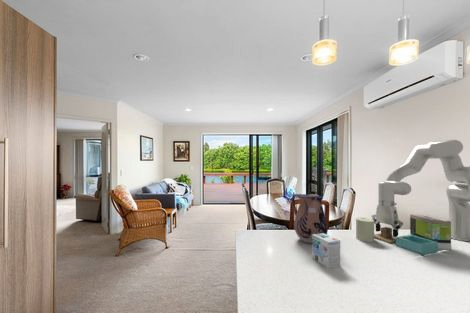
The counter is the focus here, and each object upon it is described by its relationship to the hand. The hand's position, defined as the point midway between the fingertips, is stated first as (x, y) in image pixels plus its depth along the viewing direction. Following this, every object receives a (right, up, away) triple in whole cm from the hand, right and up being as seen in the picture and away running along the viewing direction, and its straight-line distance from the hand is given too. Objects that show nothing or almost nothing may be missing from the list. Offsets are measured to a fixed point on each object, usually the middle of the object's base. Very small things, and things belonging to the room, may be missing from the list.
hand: (386, 233), depth 127 cm
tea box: (+19, -4, -7) cm, 20 cm away
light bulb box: (-46, -2, -29) cm, 55 cm away
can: (-13, -4, -1) cm, 13 cm away
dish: (+6, -3, -14) cm, 15 cm away
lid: (0, -3, 0) cm, 3 cm away
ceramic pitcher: (-46, -3, -2) cm, 46 cm away
